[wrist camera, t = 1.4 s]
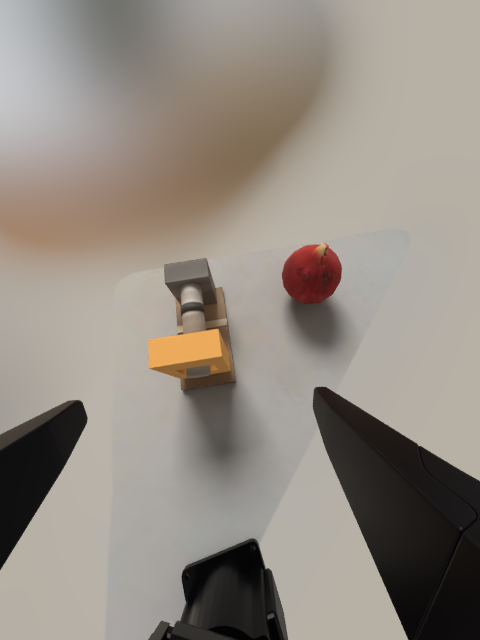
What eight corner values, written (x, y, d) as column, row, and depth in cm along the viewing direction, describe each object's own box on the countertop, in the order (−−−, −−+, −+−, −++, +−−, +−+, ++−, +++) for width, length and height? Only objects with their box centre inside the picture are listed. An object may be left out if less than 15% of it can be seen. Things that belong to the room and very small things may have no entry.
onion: (333, 310, 25) (368, 272, 18) (283, 317, 25) (298, 282, 18) (320, 267, 27) (346, 217, 20) (274, 274, 27) (283, 226, 20)
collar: (230, 371, 23) (221, 356, 15) (182, 379, 22) (148, 368, 15) (228, 351, 23) (218, 328, 16) (181, 359, 23) (148, 340, 16)
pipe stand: (235, 381, 23) (231, 374, 17) (182, 390, 23) (158, 386, 17) (222, 289, 27) (214, 256, 21) (176, 296, 27) (155, 265, 21)
